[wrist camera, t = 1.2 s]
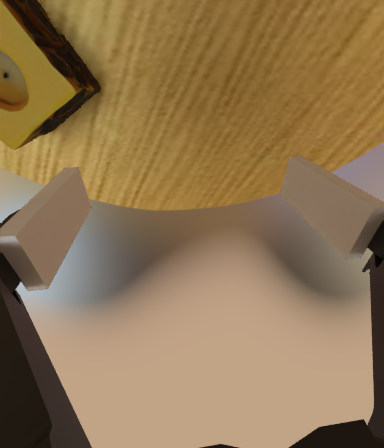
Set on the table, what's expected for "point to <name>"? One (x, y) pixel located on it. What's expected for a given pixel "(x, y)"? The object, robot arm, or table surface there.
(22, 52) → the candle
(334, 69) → the table surface
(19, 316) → the robot arm
